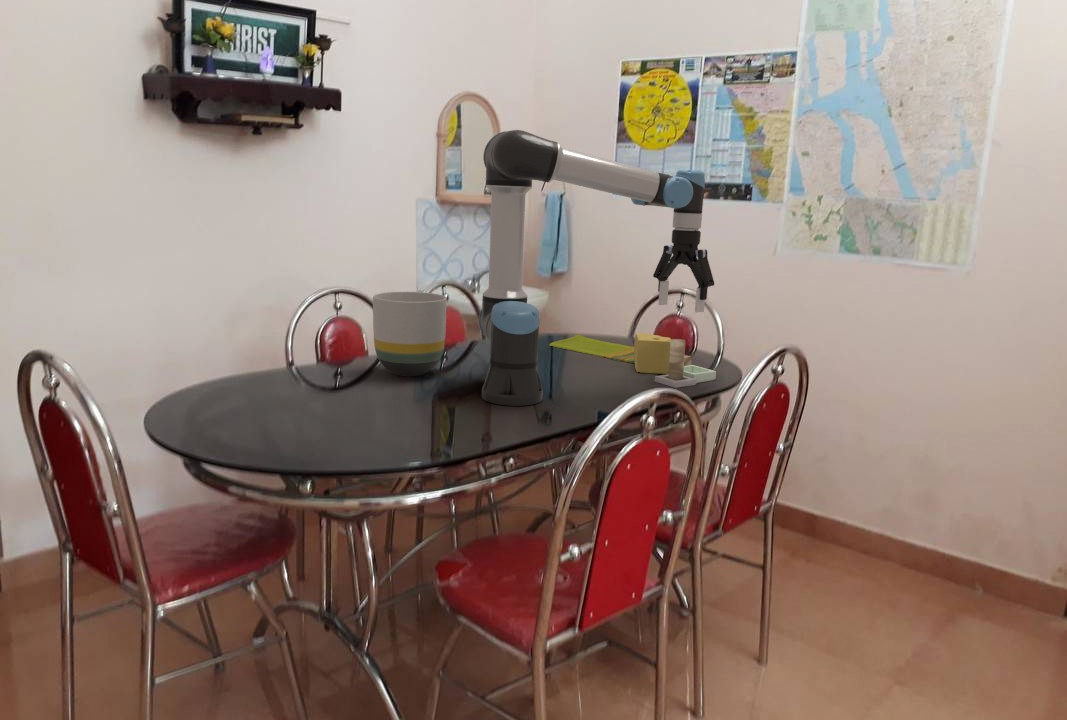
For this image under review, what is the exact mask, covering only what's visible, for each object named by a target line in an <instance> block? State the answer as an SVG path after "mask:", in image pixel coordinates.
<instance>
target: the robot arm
mask: <svg viewBox="0 0 1067 720" xmlns="http://www.w3.org/2000/svg"><path fill="white" fill-rule="evenodd" d="M483 164H484V167H485V187H486V188H487V190H489V192H490V193H491V195H490V196H491V199H490V200H491V201H490V203H491V204H490V229H489V231H490V232H489V234H490V235H489V237H490V238H489V266H488V267H489V268H488V269H489V270H488V287H487V289H486V290H484V292H482V300H481V301H482V302H481V305H482V306H481V310H480V312H479V317H478V325H479V330H480V331H481V333H482V335H483V336H484V338H486V339H487V341H488V342H490V351H489V353H490V354H489V355H490V356H489V369H488V371H487V373H486V377H485V379H484V384H483V385H482V387H481V398H482V400H484V401H485V402H489V403H491V404H496V405H499V406H500V405H501V406H513V407H516V406H517V407H518V406H531V405H536V404H538V403H540V402H542V401H543V396H544V390H543V387H542V383H541V380H540V375H539V372H538V354H539V353H538V352H539V351H538V350H539V349H538V348H539V331H540V330H539V329H540V327H539V326H540V322H541V321H540V313H539V310H538V308H537V307H536V306H535V305H534V304H531V303H528V294H527V292H525V291H524V289H523V267H524V244H525V243H524V241H525V218H526V217H525V215H526V214H525V212H526V196H527V193H529V191H530V190H531V189H532V188H533V181H539V182H544V183H547V184H548V183H551V182H552V181H559V182H562V183H567V184H571V185H575V186H579V187H582V188H587V189H591V190H596V191H600V192H604V193H608V194H613V195H616V196H617V195H618V196H620V197H626V198H628V199H631V202H632V203H633V205H637V206H644V207H645V206H653V207H661V208H662V207H663V208H664V207H665V208H670V209H673V215H672V216H673V217H672V228H674V229H672V231H671V243H672V245H670V244H669V245H668V244H667V245H666V244H665V245H664V246H663V250H662V255H661V257H660V259H659V261H658V263H657V265H656V268H655V270H654V273H653V275H652V276H653V278H655V279H657V280H658V284H657V285H658V287H657V291H658V305H659V306H664V305H666V306H667V305H668V303H669V302H668V301H669V300H668V299H669V298H668V297H669V286H670V281H669V279H668V278H669V277H670V276H671V274H672V273H673V272H674V271H675V269H676V268H677V267H678V265H681V264H682V265H685V266H687V267H689V268H690V271H691V273H692V274H693V276H694V278H695V281H696V282H697V285H698V286H697V287H696V291H695V292H696V293H695V303H694V304H695V305H694V306H695V307H694V313H705V303H706V300H707V298H708V288H709V287H713V286H715V281H714V276H713V272H712V269H711V267H710V262H709V259H708V258H709V257H708V250H707V249H705V248H704V249H703V248H702V249H699V248H698V247H699V245H700V243H701V237H702V236H701V233H702V231H700V229H701V228H702V219H703V205H704V196H705V189H706V186H705V185H706V184H705V182H706V181H705V180H706V179H705V172H704V171H702V170H700V169H697V170H696V169H677V171H676V175H675V176H673V175H669V174H666V173H661V172H658V171H654V170H651V169H648V168H647V169H646V168H643V167H638V166H635V165H631V164H626V163H622V162H618V161H616V160H611V159H606V158H604V157H599V156H596V155H595V156H594V155H591V154H588V153H584V152H578V151H575V150H570V149H567V148H563V147H561V145H560V142H558V141H554V140H549V139H546V138H544V137H541V136H538V135H536V134H533V133H530V132H527V131H525V130H521V129H514V130H513V129H512V130H506V131H502V132H499V133H497V134H494V135H493V136H492V137H491V139H489V141H488V142H487V144H486V146H485V147H484V150H483Z"/></svg>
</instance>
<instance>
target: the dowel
mask: <svg viewBox="0 0 1067 720" xmlns="http://www.w3.org/2000/svg"><path fill="white" fill-rule="evenodd" d="M670 339H671V338H670ZM685 351H686V339H681V338H672V339H671V342H670V358H669V375H668V379H672V380H675V381H677V380H683V370H684V355H686V354H685Z"/></svg>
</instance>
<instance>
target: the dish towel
mask: <svg viewBox="0 0 1067 720" xmlns="http://www.w3.org/2000/svg"><path fill="white" fill-rule="evenodd" d="M548 346H549V347H550V346H553V347H552V348H555V347H557V348H556V349H560V348H562V349H561V350H564V349H567V350H566V351H569V350H572V351H571V352H574V351H577V352H576V353H579V352H582V353H581V354H584V353H588V354H587V355H589V354H593V355H598V356H602V357H601V358H603V357H606V358H605V359H607V358H611V359H610V360H612V359H616V360H615V361H617V360H620V361H619V362H622V361H624V362H623V363H627V362H629V363H628V364H632V363H633V364H632V365H635V355H634V346H630V345H624V344H621V343H620V344H619V343H613V342H609V341H602V340H599V339H598V340H597V339H594V338H591V337H590V338H589V337H586V336H583V335H580V334H575V335H574V336H571V337H569V338H565V339H560V340H557V341H553V342H550V343H549V344H548ZM593 355H592V356H593ZM598 356H597V357H598Z"/></svg>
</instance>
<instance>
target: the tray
mask: <svg viewBox="0 0 1067 720" xmlns="http://www.w3.org/2000/svg"><path fill="white" fill-rule="evenodd" d="M683 376H686V377H690V378H693V379H697V380H696V384H698V383H704V382H705V383H706V382H711V381H716V379H717V378H716V377H717V371H716V370H713V369H709V368H705V367H701V366H697V365H694V364H691V365H689V366H684V370H683Z"/></svg>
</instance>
